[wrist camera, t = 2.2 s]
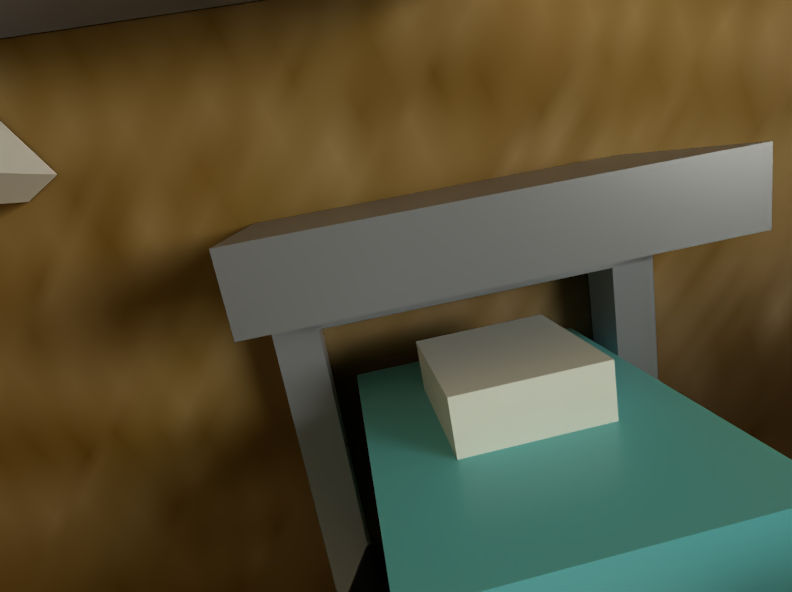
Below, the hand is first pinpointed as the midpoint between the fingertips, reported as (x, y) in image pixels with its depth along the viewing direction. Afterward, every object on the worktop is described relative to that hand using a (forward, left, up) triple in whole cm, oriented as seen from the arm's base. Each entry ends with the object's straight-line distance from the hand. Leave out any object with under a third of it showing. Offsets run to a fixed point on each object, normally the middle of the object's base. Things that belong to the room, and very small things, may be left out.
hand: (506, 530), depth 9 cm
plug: (0, 0, -1) cm, 1 cm away
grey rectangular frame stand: (0, 0, -1) cm, 1 cm away
